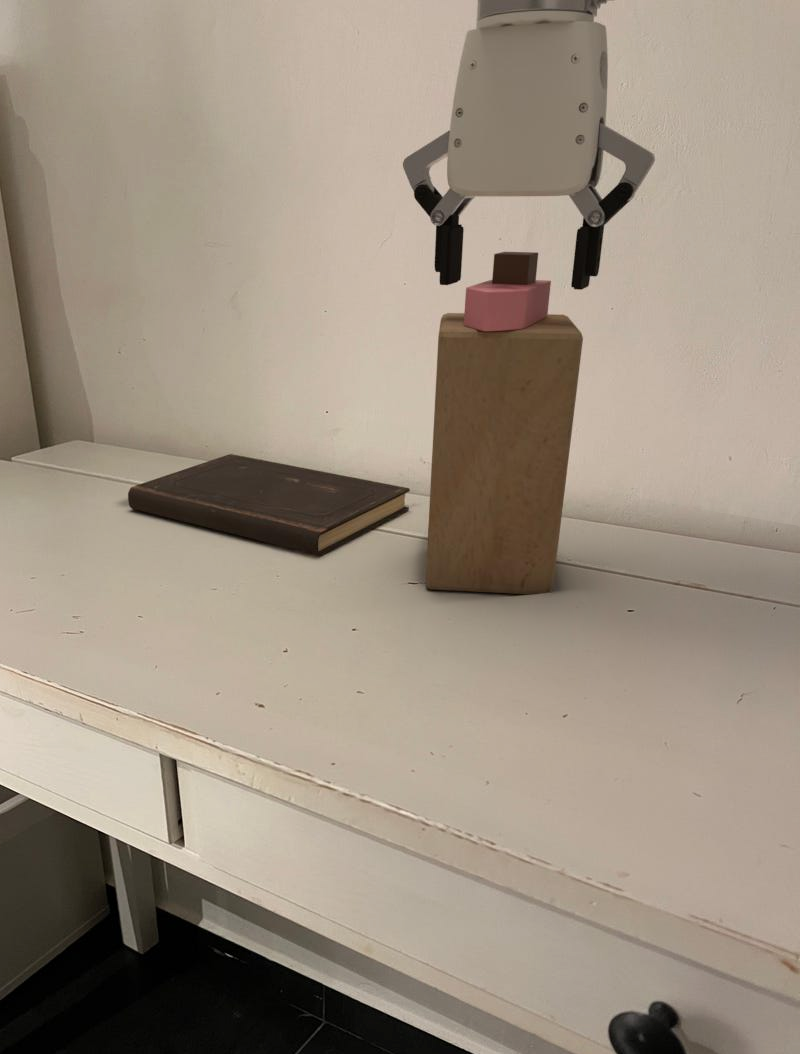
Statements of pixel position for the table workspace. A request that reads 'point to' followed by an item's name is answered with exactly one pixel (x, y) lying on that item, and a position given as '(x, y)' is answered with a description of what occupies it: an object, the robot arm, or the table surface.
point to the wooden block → (500, 454)
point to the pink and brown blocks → (508, 295)
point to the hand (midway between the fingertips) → (513, 285)
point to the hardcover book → (272, 502)
